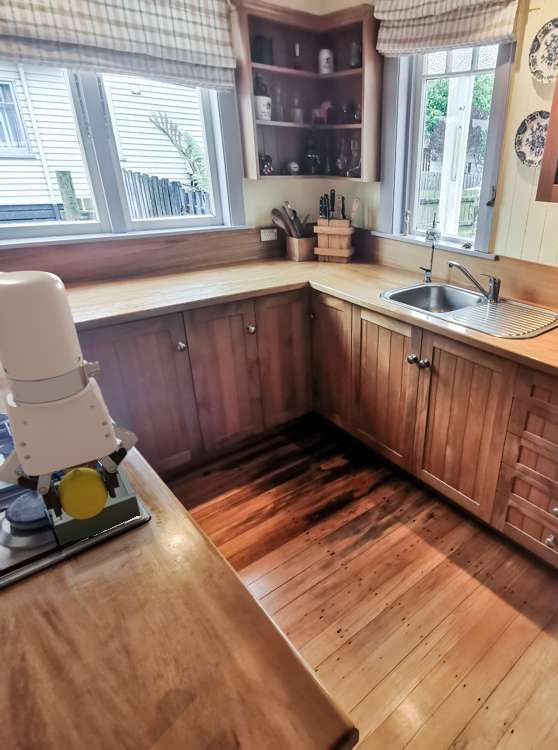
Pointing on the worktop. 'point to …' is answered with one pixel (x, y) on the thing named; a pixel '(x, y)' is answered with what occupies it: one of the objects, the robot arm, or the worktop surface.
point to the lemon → (82, 493)
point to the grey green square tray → (107, 518)
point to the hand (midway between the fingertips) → (85, 500)
